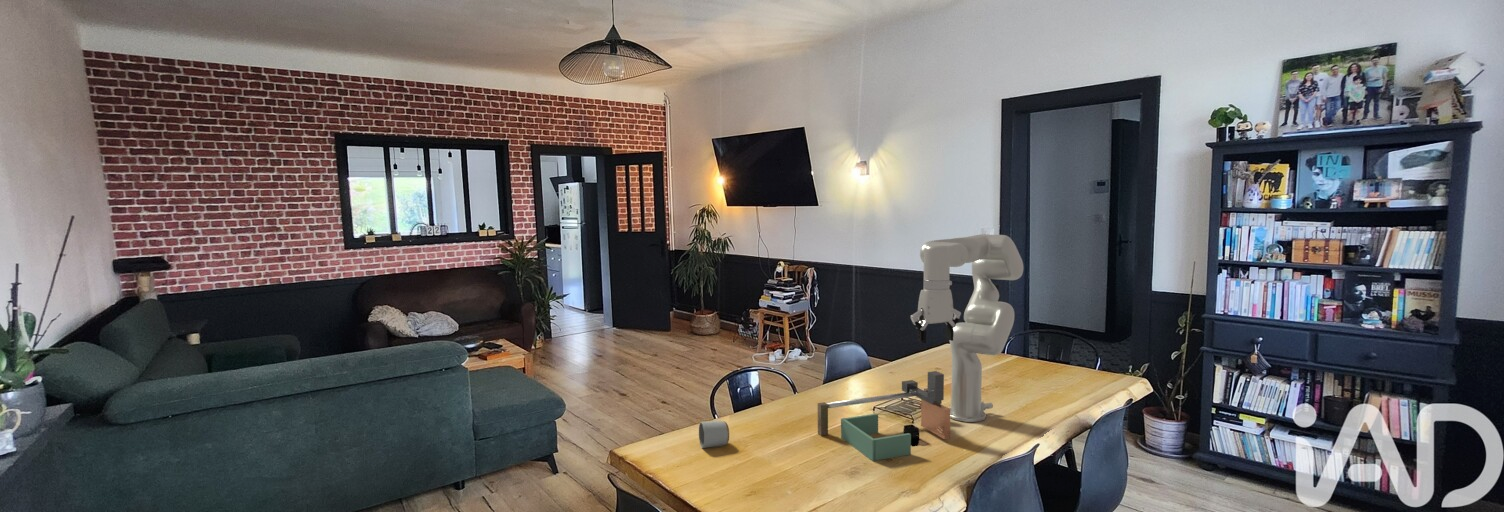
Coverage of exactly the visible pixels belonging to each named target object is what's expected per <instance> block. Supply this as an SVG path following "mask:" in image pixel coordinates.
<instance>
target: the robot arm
mask: <svg viewBox="0 0 1504 512" xmlns="http://www.w3.org/2000/svg"><path fill="white" fill-rule="evenodd" d="M919 256H920V260H921V262H922V263H923V289H921V290H920V292H919V297H918V302H917V303H918V304H917V311H916V312H914V313H913V314H911V315H910V320H911V323H912V324H913V326H914V327H915V328H916V329H917V341H918V342H919V343H921V344H926V343H927V330H925V329H927V326H928V325H930V324H931V325H932V324H942V323H945V324H946V325H945V328H944V329H945V330H944V338H945V340H948V341H949V347H950V352H951V354H950V356H951V389H950V391H951V395H950V396H951V397H950V404H951V406H950V407H948V408H949V409H950V419H951V420H955V421H958V422H965V423H977V422H982V421H984V420H985V419H986V417H987V414H986V412H985V411H986V410H988V409H992V408H994V404H993V403H992V402H987V403H985V402H984V401H982V386H983V385H982V384H983V383H982V379H983V375H982V372H983V370H982V369H983V368H982V367H983V366H982V363H981V360H980V357H979V355H978V354H980V355H986V356H998V355H1000V354H1001V353H1002V352H1003V350H1004V348H1005V345H1006V344H1007V341H1008V339H1009V336H1010V333H1011V331H1012V329H1013V326H1014V322H1015V309H1014V308H1013V306H1012V305H1011V304H1010V303H1008V302H1005V301H999V298H1000V293H999V290H998V288H997V287H996V285H995V284H994V283H993V281H992V280H1003V281H1004V280H1005V281H1016V280H1018V279H1020V278H1021V277H1022V276H1023V274H1024V261H1023V259H1022V257H1021V254H1020V253H1019V250H1018V248H1017V246H1016V244H1015V242H1014V241H1013V240H1012V238H1011V237H1010V236H1008V235H1005V234H982V233H981V234H974V235H970V236H963V237H954V238H944V239H935V240H930V241H926V242H925V243H923V245H922V246H921V249H920V251H919ZM970 263H971V275H972V280H973V291H972V295H971V296H970V298H969V301H968V304H967V305H966V307H965V310H964V313H963V320H964V322H959V319H960V317H961V315H962V312H961V311H959V310H957V309H956V308H954V300H953V294H952V290H951V289H950V286H952V284H953V281H952V280H950V274H951V270H950V268H958V267H962V266H963V265H965V264H970Z"/></svg>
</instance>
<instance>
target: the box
mask: <svg viewBox="0 0 1504 512" xmlns="http://www.w3.org/2000/svg"><path fill="white" fill-rule="evenodd" d="M875 434H879V414H878V413H872V414H871V413H870V414H864V415H857V416H851V417H844V418H843V417H842V418H840V438H841V439H842V440H843V441H844V442H846V443H848V444H849V445H850V446H851V447H853V448H854V449H856V450H857V451H858V452H860V453H861V454H862V455H864V456H865V457H866V458H868V460H870V461H871V462H874V461H875V462H876V461H881V460H882V461H883V460H886V459H893V458H896V457H897V458H898V457H905V456H909V455H912V454H911V453H912V450H911V449H912V448H911V447H912V446H911V434H910V433H906V434H904V433H901V434H896V435H895V434H894V435H889V436H882V437H877V438H874V437H872V436H870V435H875Z"/></svg>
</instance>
